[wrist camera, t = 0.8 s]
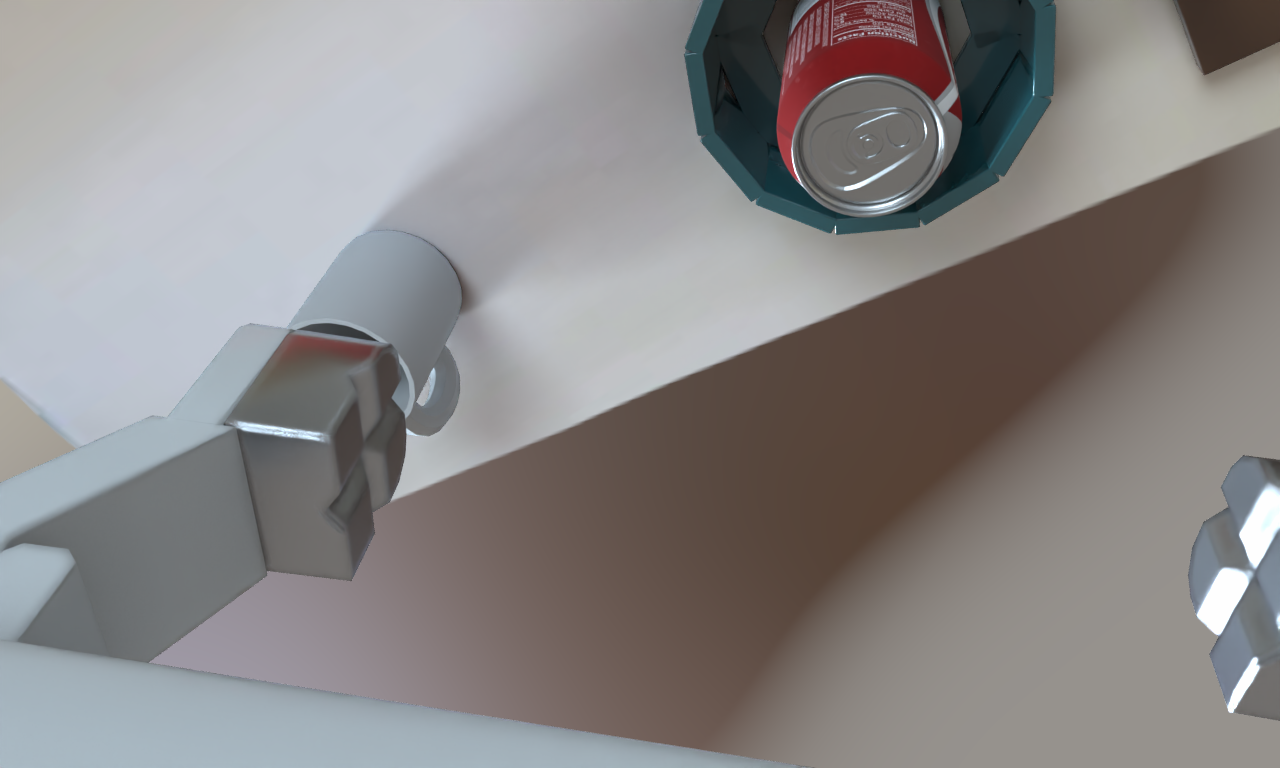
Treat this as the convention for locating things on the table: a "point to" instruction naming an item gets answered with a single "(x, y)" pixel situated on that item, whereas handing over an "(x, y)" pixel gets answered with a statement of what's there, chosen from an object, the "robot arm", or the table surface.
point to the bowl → (1000, 27)
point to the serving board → (1228, 29)
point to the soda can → (868, 102)
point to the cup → (395, 316)
